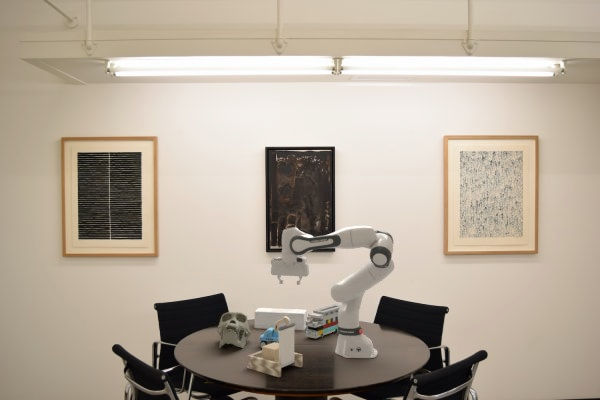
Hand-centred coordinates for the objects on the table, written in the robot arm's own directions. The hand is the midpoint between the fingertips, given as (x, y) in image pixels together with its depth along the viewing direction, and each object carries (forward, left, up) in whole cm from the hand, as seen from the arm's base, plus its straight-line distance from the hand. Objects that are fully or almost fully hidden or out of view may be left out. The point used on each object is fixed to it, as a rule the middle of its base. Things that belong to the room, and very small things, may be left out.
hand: (289, 284), depth 255 cm
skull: (+35, -8, -38) cm, 52 cm away
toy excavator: (+11, -10, -38) cm, 40 cm away
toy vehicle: (-12, -42, -37) cm, 58 cm away
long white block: (+18, -51, -38) cm, 66 cm away
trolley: (+1, +21, -37) cm, 43 cm away
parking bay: (+2, +20, -37) cm, 42 cm away
